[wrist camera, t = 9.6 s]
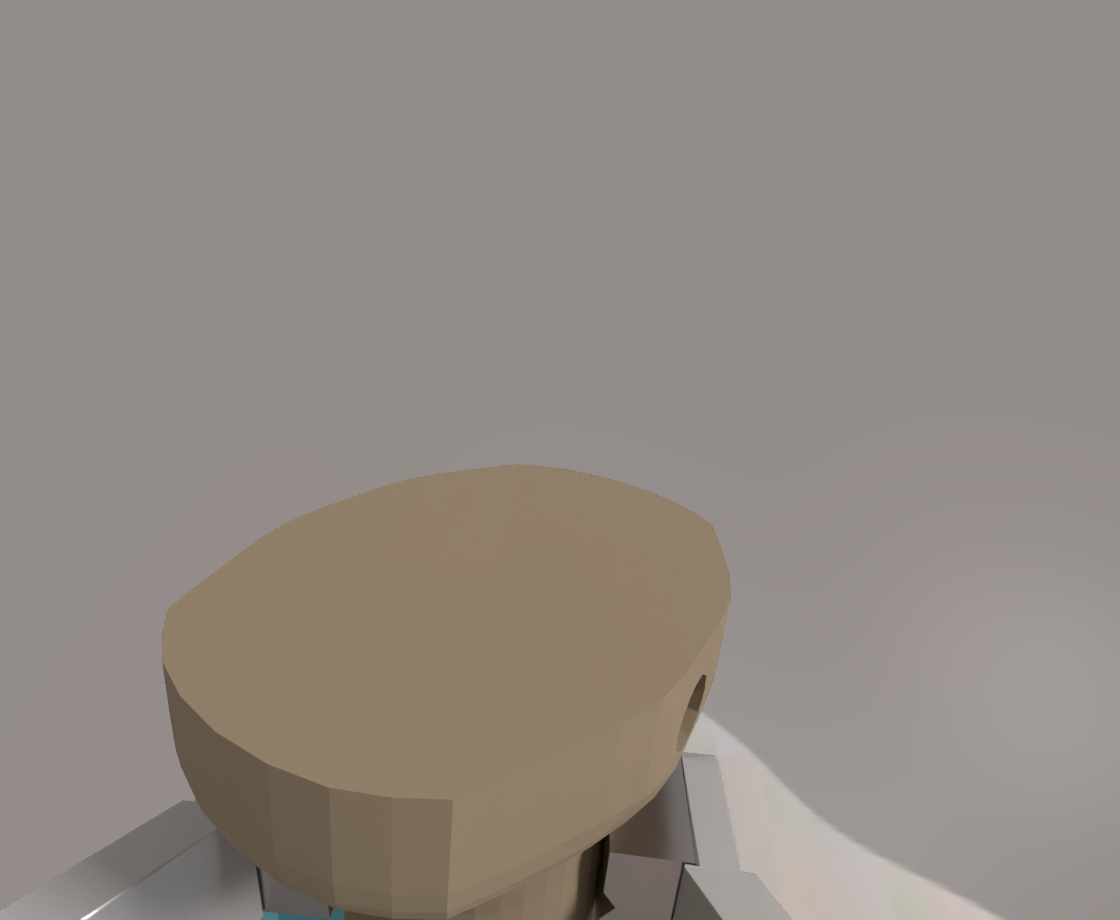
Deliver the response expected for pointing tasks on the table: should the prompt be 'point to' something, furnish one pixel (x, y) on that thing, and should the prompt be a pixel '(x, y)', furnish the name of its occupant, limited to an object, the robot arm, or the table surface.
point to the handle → (448, 688)
